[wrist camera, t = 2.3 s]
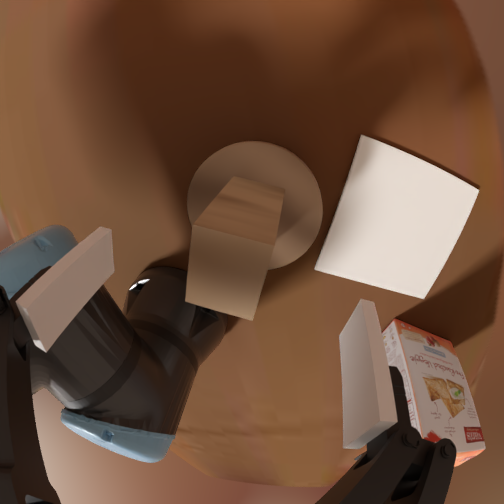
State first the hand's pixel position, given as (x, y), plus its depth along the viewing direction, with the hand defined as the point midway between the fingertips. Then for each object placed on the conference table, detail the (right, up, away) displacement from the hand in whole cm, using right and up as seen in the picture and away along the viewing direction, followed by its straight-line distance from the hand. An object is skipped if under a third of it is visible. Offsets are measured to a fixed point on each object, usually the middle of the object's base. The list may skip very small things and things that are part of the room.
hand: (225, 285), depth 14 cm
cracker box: (+26, -12, +23) cm, 37 cm away
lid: (+1, +5, +9) cm, 11 cm away
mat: (+18, +4, +14) cm, 24 cm away
